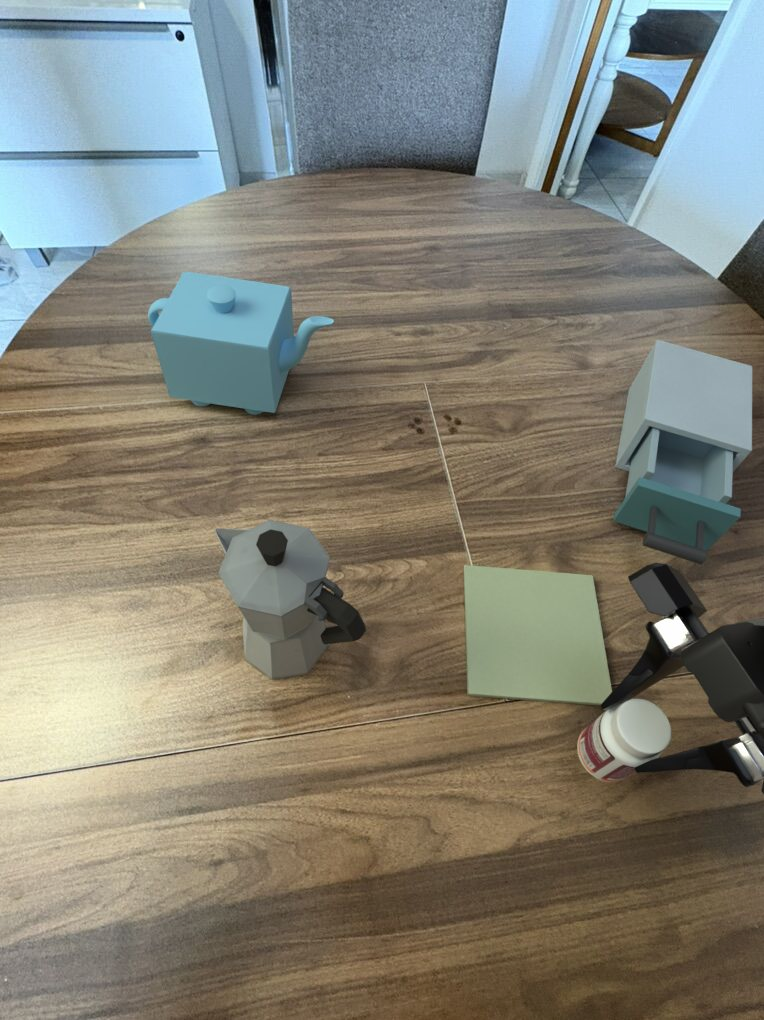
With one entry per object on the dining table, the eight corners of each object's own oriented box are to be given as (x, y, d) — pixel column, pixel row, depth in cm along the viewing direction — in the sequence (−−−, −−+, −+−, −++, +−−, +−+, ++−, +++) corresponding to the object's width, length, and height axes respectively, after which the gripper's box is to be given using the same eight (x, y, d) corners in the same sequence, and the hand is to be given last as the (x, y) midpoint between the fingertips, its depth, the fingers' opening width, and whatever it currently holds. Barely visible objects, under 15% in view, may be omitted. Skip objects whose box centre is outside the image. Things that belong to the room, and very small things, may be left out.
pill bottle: (638, 743, 52) (684, 714, 46) (621, 795, 50) (667, 772, 43) (586, 713, 54) (623, 681, 47) (567, 762, 51) (603, 736, 44)
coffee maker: (205, 636, 60) (165, 538, 45) (263, 572, 64) (245, 463, 49) (328, 726, 56) (329, 651, 41) (382, 650, 60) (400, 558, 45)
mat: (591, 577, 67) (592, 575, 66) (612, 706, 59) (614, 704, 58) (463, 567, 66) (464, 564, 66) (467, 695, 58) (468, 693, 58)
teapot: (150, 403, 76) (120, 311, 65) (179, 345, 83) (156, 252, 71) (324, 430, 76) (324, 342, 65) (340, 369, 82) (342, 279, 71)
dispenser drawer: (704, 590, 66) (740, 558, 60) (606, 558, 67) (632, 523, 62) (711, 464, 76) (742, 426, 71) (627, 438, 78) (650, 399, 72)
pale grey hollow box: (711, 497, 74) (752, 450, 67) (614, 467, 76) (645, 418, 69) (715, 415, 83) (752, 365, 75) (628, 390, 84) (656, 339, 77)
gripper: (715, 494, 38) (515, 617, 45) (957, 803, 29) (658, 903, 35) (746, 531, 47) (574, 630, 53) (942, 780, 37) (703, 865, 44)
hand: (619, 737), depth 46 cm, fingers closed on pill bottle, 4 cm apart
